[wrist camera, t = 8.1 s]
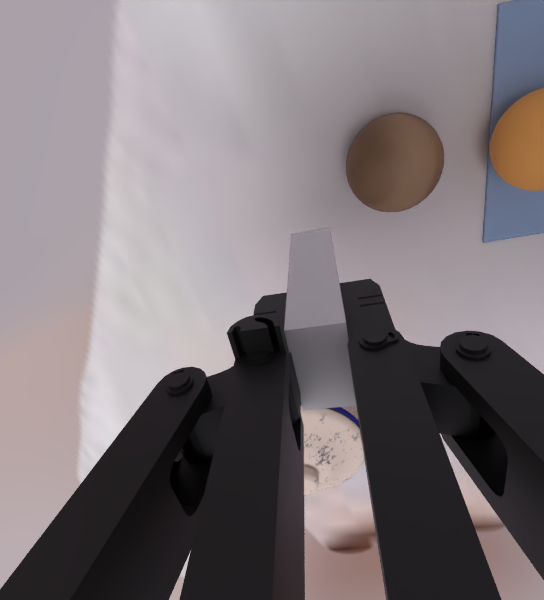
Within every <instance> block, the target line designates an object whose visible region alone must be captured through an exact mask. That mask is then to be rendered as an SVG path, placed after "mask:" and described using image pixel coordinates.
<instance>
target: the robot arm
mask: <svg viewBox="0 0 544 600" xmlns="http://www.w3.org/2000/svg"><path fill="white" fill-rule="evenodd" d="M227 335H228V338H229V341H230V344H231V347H232V350H233V353H234V356H235V363H234V366H233V367H231V368H230V369H228V370H225V371H223V372H221V373H218V374H215V375H212V376H209V377H206V374H205V372H204V371H202V370H201V369H200V368H195V367H186V368H181V369H178V370H175V371H173V372H171V373H170V374H168V375H166V376H165V377H164V378H163V379H162V380H161V381H160V382H159V383H158V384H157V385H156V386H155V388H154V389H153V390H152V392H151V393H150V394H149V396H148V397H147V398H146V399H145V401H144V402H143V403H142V405H141V406H140V407H139V409H138V410H137V411H136V413H135V414H134V415H133V416H132V418H131V419H130V420H129V422H128V423H127V424H126V426H125V427H124V428H123V430H122V431H121V432H120V433H119V435H118V436H117V437H116V439H115V440H114V441H113V443H112V444H111V445H110V447H109V448H108V449H107V450H106V452H105V453H104V454H103V456H102V457H101V458H100V460H99V461H98V462H97V464H96V465H95V466H94V467H93V469H92V470H91V471H90V473H89V474H88V475H87V477H86V478H85V479H84V481H83V482H82V483H81V484H80V486H79V487H78V488H77V490H76V491H75V492H74V494H73V495H72V496H71V498H70V499H69V500H68V501H67V503H66V504H65V505H64V507H63V508H62V510H61V511H60V512H59V513H58V515H57V516H56V517H55V519H54V520H53V521H52V523H51V524H50V525H49V526H48V528H47V529H46V530H45V532H44V533H43V534H42V536H41V537H40V538H39V540H38V541H37V542H36V543H35V545H34V546H33V547H32V549H31V550H30V551H29V553H28V554H27V555H26V557H25V558H24V559H23V560H22V562H21V563H20V564H19V566H18V567H17V568H16V570H15V571H14V572H13V573H12V575H11V576H10V577H9V579H8V580H7V581H6V583H5V584H4V585H3V587H2V588H1V589H0V600H169V598H170V595H171V593H172V591H173V589H174V586H175V584H176V582H177V580H178V578H179V575H180V573H181V571H182V569H183V566H184V564H185V562H186V560H187V557H188V555H189V553H190V551H191V553H190V557H189V561H188V566H187V570H186V574H185V579H184V583H183V588H182V592H181V596H180V600H305V581H304V580H305V578H304V577H305V574H304V425H303V421H302V417H301V413H300V411H301V404H302V408H303V411H305V410H315V409H325V408H335V407H345V406H355V405H356V406H357V413H358V420H359V427H360V434H361V441H362V446H363V452H364V459H365V465H366V472H367V478H368V485H369V491H370V497H371V504H372V510H373V517H374V523H375V530H376V536H377V542H378V549H379V555H380V562H381V568H382V574H383V581H384V587H385V594H386V600H501V597H500V595H499V592H498V589H497V587H496V584H495V581H494V579H493V576H492V573H491V571H490V568H489V565H488V563H487V560H486V557H485V555H484V552H483V549H482V547H481V544H480V541H479V538H478V536H477V533H476V530H475V528H474V525H473V522H472V520H471V517H470V514H469V512H468V509H467V506H466V504H465V501H464V498H463V496H462V493H461V490H460V488H459V485H458V482H457V480H456V477H455V474H454V472H453V469H452V466H451V464H450V461H449V458H448V456H447V453H446V450H445V447H444V445H443V442H442V439H441V437H440V434H439V433H441V435H442V437H443V439H444V441H445V442H446V444H447V445H448V446H449V448H450V449H451V451H452V452H453V453H454V455H455V456H456V458H457V459H458V460H459V462H460V463H461V465H462V466H463V467H464V469H465V470H466V472H467V473H468V475H469V476H470V477H471V479H472V480H473V482H474V483H475V484H476V486H477V487H478V489H479V490H480V491H481V493H482V494H483V496H484V497H485V498H486V500H487V501H488V503H489V504H490V505H491V507H492V508H493V510H494V511H495V512H496V514H497V515H498V517H499V518H500V519H501V521H502V522H503V524H504V525H505V526H506V528H507V529H508V531H509V532H510V533H511V535H512V536H513V538H514V539H515V540H516V542H517V543H518V545H519V546H520V547H521V549H522V550H523V552H524V553H525V554H526V556H527V557H528V559H529V560H530V561H531V563H532V564H533V566H534V567H535V568H536V570H537V571H538V573H539V574H540V575H541V577H542V578H543V580H544V374H542V373H541V372H540V371H539V370H537V369H536V368H535V367H534V366H532V365H531V364H530V363H529V362H528V361H526V360H525V359H524V358H523V357H521V356H520V355H519V354H518V353H516V352H515V351H514V350H513V349H511V348H510V347H509V346H508V345H506V344H505V343H504V342H503V341H501V340H500V339H498V338H496V337H494V336H493V335H490V334H486V333H483V332H477V331H463V332H456V333H453V334H451V335H449V336H447V337H446V338H445V339H444V340H443V341H442V342H441V346H440V347H432V346H423V345H417V344H414V343H410V342H408V341H406V340H404V338H403V336H402V335H401V334H400V332H398V331H396V330H395V327H394V325H393V322H392V319H391V316H390V314H389V311H388V308H387V305H386V303H385V300H384V297H383V294H382V291H381V288H380V286H379V285H378V284H377V283H375V282H374V281H372V280H371V279H365V280H359V281H352V282H346V283H339V279H338V273H337V267H336V261H335V255H334V249H333V244H332V238H331V232H330V227H329V228H324V229H318V230H312V231H307V232H301V233H295V234H291V244H290V257H289V271H288V285H287V293H281V294H274V295H267V296H263V297H262V298H261V299H260V300H259V301H258V303H257V304H256V305H255V310H254V315H253V316H249V317H246V318H244V319H242V320H239V321H237V322H236V323H235V324H234V325H232V326H231V327H230V329H229V330H228V332H227Z"/></svg>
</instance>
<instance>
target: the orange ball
mask: <svg viewBox="0 0 544 600" xmlns="http://www.w3.org/2000/svg"><path fill="white" fill-rule="evenodd" d="M490 157H491V162H492V164H493V167H494V169H495V170H496V172H497V174H498V175H499V176H500V177H501V178H502V179H503V180H504V181H505V182H507V183H509V184H510V185H512V186H514V187H517V188H520V189H523V190H529V191H544V88H541V89H538V90H536V91H533V92H531V93H529V94H527V95H525V96H524V97H522V98H521V99H519V100H518V101H516V102H515V103H514V104H513V105H512V106H511V107H510V108H509V109H508V110H507V111H506V112H505V113H504V114H503V115H502V117H501V118H500V120H499V121H498V123H497V125H496V126H495V129H494V131H493V134H492V137H491V141H490Z"/></svg>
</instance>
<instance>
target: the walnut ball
mask: <svg viewBox="0 0 544 600" xmlns="http://www.w3.org/2000/svg"><path fill="white" fill-rule="evenodd" d="M443 165H444V150H443V146H442V142H441V140H440V138H439V136H438V134H437V132H436V131H435V129H434V128H433V127H432V126H431V125H430V124H429V123H427V122H426V121H425V120H423V119H421V118H420V117H417V116H415V115H410V114H406V113H395V114H389V115H385V116H382V117H380V118H378V119H376V120H374V121H372V122H371V123H369V124H368V125H367V126H365V127H364V128H363V129H362V130H361V131H360V133H359V134H358V135H357V136H356V138H355V139H354V141H353V143H352V145H351V147H350V149H349V153H348V156H347V161H346V173H347V179H348V182H349V185H350V188H351V189H352V191H353V193H354V194H355V196H356V197H357V198H358V199H359V200H360V201H361V202H362V203H364V204H365V205H367V206H368V207H370V208H372V209H375V210H378V211H383V212H398V211H403V210H406V209H409V208H411V207H413V206H415V205H417V204H419V203H420V202H421V201H423V200H424V199H425V198H426V197H427V196H428V195H429V194H430V193H431V192H432V191H433V189H434V188H435V186H436V185H437V183H438V181H439V179H440V176H441V174H442V170H443Z"/></svg>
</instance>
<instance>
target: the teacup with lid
mask: <svg viewBox="0 0 544 600" xmlns="http://www.w3.org/2000/svg"><path fill="white" fill-rule="evenodd" d="M300 413H301V417H302V421H303V425H304V495H309V494H312V493H313V492H315V491H320V490H325V489H329V488H332V487H335V486H337V485H340V484H342V483H344V482H345V481H347V480H348V479H350V478H351V477H352V476H353V475H354V474H356V472H357V471H358V470H359V469H360V467H361V466H362V464H363V462H364V460H365V459H364V452H363V446H362V441H361V434H360V427H359V420H358V413H357V406H356V405H355V406H345V407H335V408H325V409H315V410H305V411H303V408H302V404H301V411H300Z"/></svg>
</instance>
